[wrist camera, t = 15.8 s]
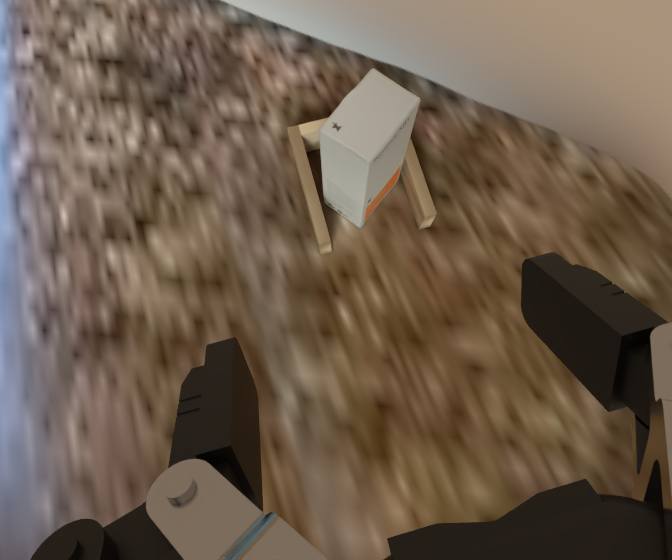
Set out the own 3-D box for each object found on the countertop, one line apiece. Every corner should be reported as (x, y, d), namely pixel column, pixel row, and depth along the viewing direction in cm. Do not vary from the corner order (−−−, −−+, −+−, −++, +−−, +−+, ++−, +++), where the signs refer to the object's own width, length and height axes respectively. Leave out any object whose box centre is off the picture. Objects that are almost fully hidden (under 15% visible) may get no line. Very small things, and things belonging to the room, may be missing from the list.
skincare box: (361, 230, 40) (368, 164, 29) (322, 203, 41) (315, 128, 29) (400, 180, 41) (423, 97, 30) (363, 154, 42) (370, 63, 30)
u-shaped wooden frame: (320, 254, 40) (318, 244, 37) (290, 145, 42) (287, 127, 39) (429, 226, 40) (436, 213, 37) (393, 120, 43) (397, 100, 40)
